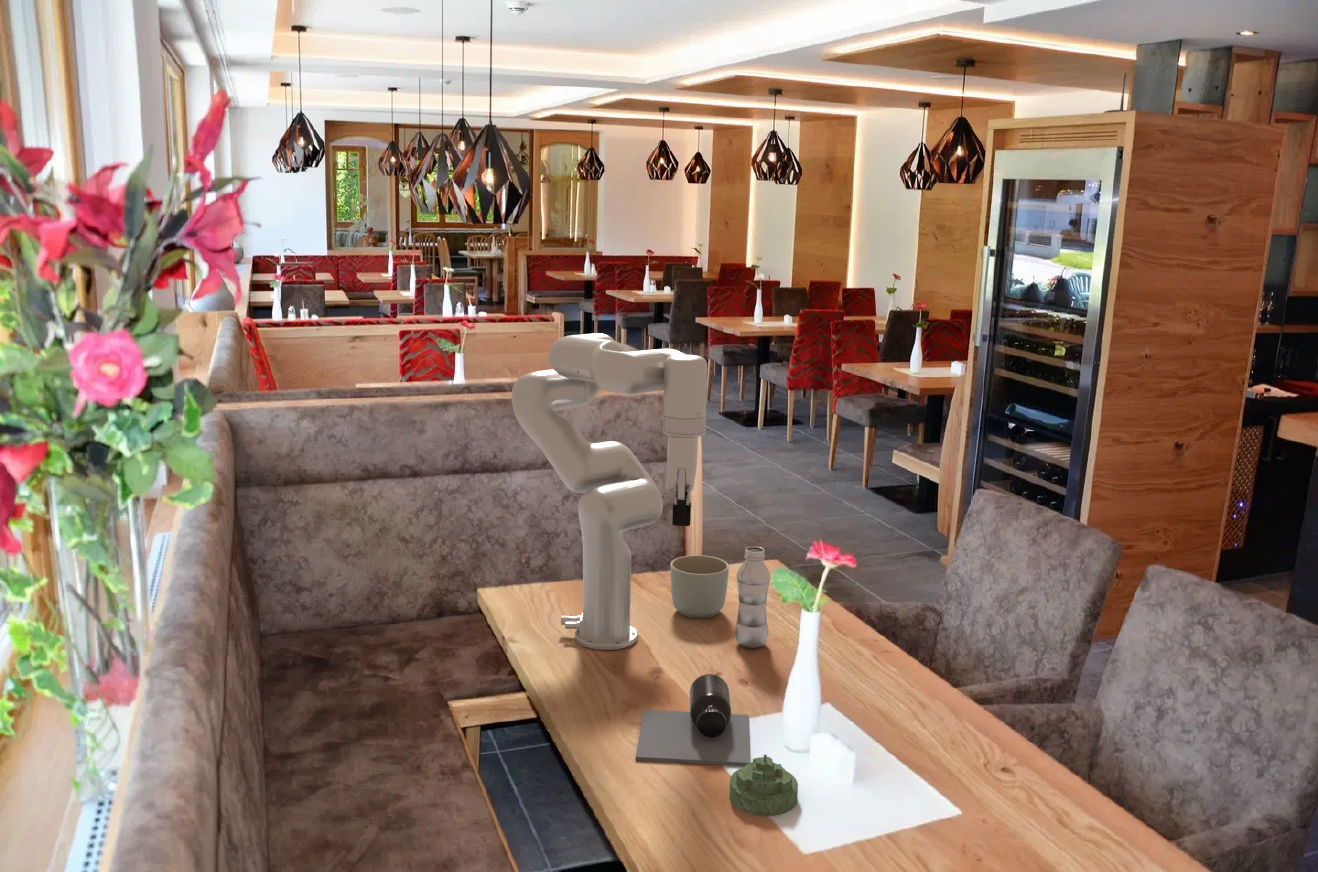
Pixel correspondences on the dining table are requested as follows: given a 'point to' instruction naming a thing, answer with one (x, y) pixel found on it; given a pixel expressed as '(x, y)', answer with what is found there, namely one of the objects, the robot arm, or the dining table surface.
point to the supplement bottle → (710, 705)
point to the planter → (699, 585)
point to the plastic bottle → (752, 599)
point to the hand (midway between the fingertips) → (681, 524)
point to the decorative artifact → (763, 788)
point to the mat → (691, 740)
